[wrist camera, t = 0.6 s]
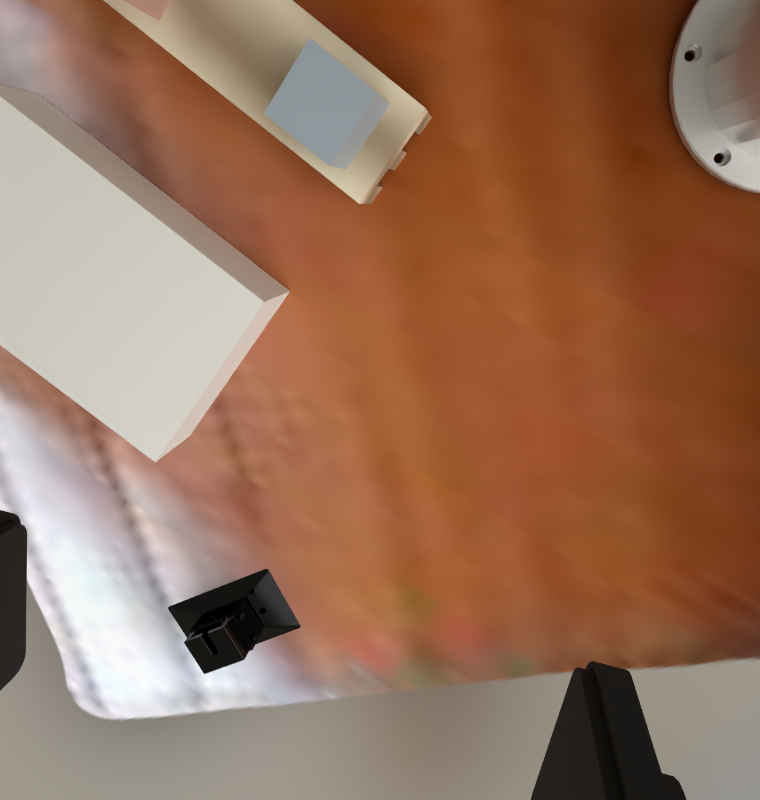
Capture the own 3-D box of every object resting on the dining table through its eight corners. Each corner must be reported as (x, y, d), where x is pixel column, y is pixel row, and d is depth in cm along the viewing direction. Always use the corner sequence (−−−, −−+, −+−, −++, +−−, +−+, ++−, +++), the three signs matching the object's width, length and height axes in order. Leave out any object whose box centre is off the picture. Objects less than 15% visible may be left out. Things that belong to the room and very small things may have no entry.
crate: (329, 56, 34) (309, 37, 30) (389, 105, 34) (377, 92, 30) (288, 123, 35) (263, 113, 31) (346, 169, 35) (328, 165, 32)
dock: (34, 91, 41) (-27, 75, 36) (290, 291, 42) (264, 302, 37) (-45, 257, 45) (-108, 263, 40) (189, 435, 46) (155, 462, 41)
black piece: (282, 548, 48) (261, 582, 44) (328, 627, 49) (312, 668, 45) (152, 601, 51) (120, 637, 47) (198, 673, 53) (172, 715, 48)
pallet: (156, -106, 37) (117, -142, 33) (432, 118, 38) (425, 108, 34) (108, -7, 39) (66, -30, 35) (371, 203, 39) (358, 203, 36)
